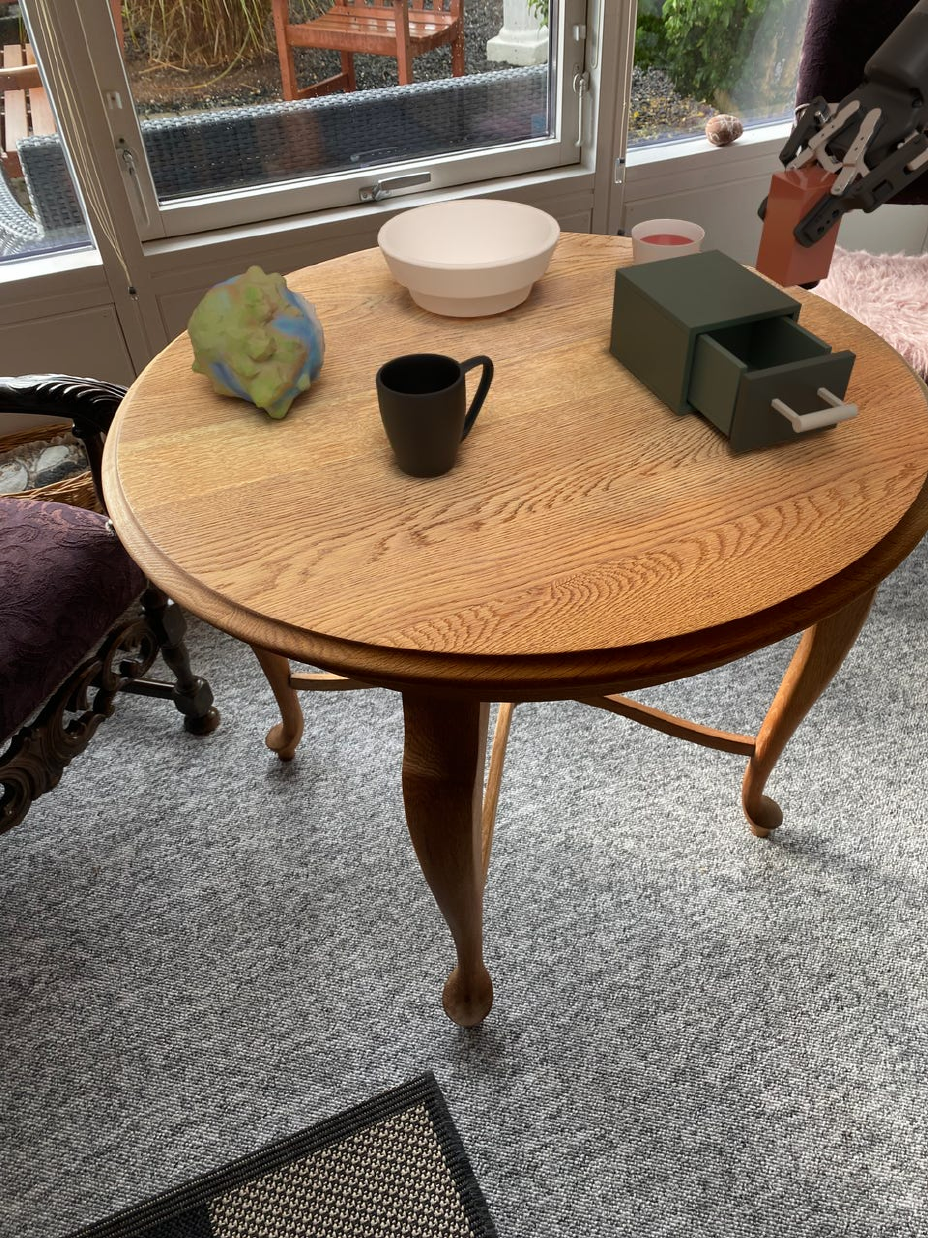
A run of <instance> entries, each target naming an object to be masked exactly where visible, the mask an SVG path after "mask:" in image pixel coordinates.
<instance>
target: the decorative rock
mask: <svg viewBox="0 0 928 1238" xmlns="http://www.w3.org/2000/svg"><path fill="white" fill-rule="evenodd" d="M186 329H187V334H188V336H189V339H190V344H191V346H192V350H193V351H192V353H193V357H194V360H193V362H192V364H191V370H192V372H193V374H199V375H204V376H206V377H207V378H208V379H209V380H210V383H211V389H212V390H213V391H214V393H215V394H219V395H223V396H226V397H230V398H232V397H233V398H241V399H242V400H243V399H244V400H245V401H247V402H251V403H253V404H255V406H256V407H257V408H263V409H264V410H265V411H266V412H267V413H268V415H269V416H270V417H271V418H272V419H283V418H284V417H285V416H286V415H287V412H288V410H289V409H290V407H291V405H292V403H293V400H294V399H296V398H297V397H298V396H300V395H301V394H302V393H303V392H304V391H305V390H306V391H308V390H310V388H311V384H312V383H314V382H318V381H319V380H320V379H321V371H322V368H323V366H324V363H325V359H324V358H325V354H326V347H327V346H326V342H325V333H324V327H323V324H322V322H321V320H320V319H319V317H318V315H317V311H316V304H314V303H312V302H310V301H309V299H306V297H305V295H303V294H302V293H300V292H296V291H292V290H291V289H289V287H288V283H287V279H286V277H284V276H282V275H281V274H280V273H279V272H272V273H269V274H266V273H265V272H264V271H263V269H262V267H260V266H259V265H254V264H253V265H252V266H250V267H249V268H248V269H247V270H246V272H244V273H242V274H238V275H236V276H233V277H230V278H228V279H227V280H225V281H222V282H219V283H216V284H215V285H213V286H212V287H211V288H210V289H209V290H208V291H207V292H205V295H204V297H202V300H201V301H200V302H199V304H198V305H197V307H196V308H194V310H193V312H192V314H191V317H190V318H189V320H188V323H187V328H186Z"/></svg>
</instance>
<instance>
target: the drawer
mask: <svg viewBox="0 0 928 1238" xmlns="http://www.w3.org/2000/svg"><path fill="white" fill-rule="evenodd" d="M832 350H833V346H832V345H831V344H829V343H828V342H826V341H824V340H823V339H821V338H820V337H818V336H817V335H816V334H814V333H813V332H811V331H810V330H808V329H807V328H806V327H804V326H802V325H801V324H800V323H799V322H798V323H796V322H795V321H793V320H792V319H790V318H789V317H788V316H786V315H781V316H777V317H772V318H768V319H763V320H758V321H754V322H749V323H745V324H740V325H735V326H731V327H726V328H722V329H717V330H712V331H708V332H703V333H699V334H696V339H695V346H694V352H693V359H692V366H691V373H690V380H689V386H688V393H687V400H688V401H689V402H690V403H691V404H692V405H694V406H695V407H696V408H697V409H698V410H699V411H698V412H700V413H701V415H703V416H704V417H705V418H707V420H709V422H711V423H712V424H713V425H715V427H717V429H719V430H720V431H721V432H722V433H723V434H724V435H725V436H726V437H730V439H729V443H728V449H729V450H730V451H731V452H732V453H733V454H734V455H735V454H740V453H744V452H748V451H752V450H756V449H760V448H764V447H768V446H771V445H775V444H779V443H783V442H787V441H791V440H796V439H799V438H803V437H806V436H807V437H808V436H810V435H815V434H819V433H823V432H826V431H831V430H834V429H837V425H838V424H839V423H842V422H846V421H850V420H854V419H856V418H857V417H858V415H859V408H858V406H857V404H855V403H853V402H850V403H845V398H846V394H847V390H848V387H849V383H850V380H851V376H852V372H853V369H854V366H855V361H856V358H857V354H856V353H854V352H853V351H852V350H850V349H845V350H841V351H836V352H832Z"/></svg>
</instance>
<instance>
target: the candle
mask: <svg viewBox="0 0 928 1238" xmlns="http://www.w3.org/2000/svg"><path fill="white" fill-rule="evenodd" d="M630 232H631V233H630V234H631V243H632V245H631V246H632V259H633V266H634V265H639V264H644V263H649V262H655V261H660V260H665V259H670V258H675V257H680V256H685V255H691V254H696V253H700V250H701V247H702V245H703V241H704V239H705V235H706V233H705V230H704V229H703V228H702V227H701V226H700V225H699V224H696V223H694V222H691V221H688V220H684V219H683V220H682V219H676V218H657V219H651V220H646V221H642V222H640V223H638V224H636V225H635V226H633V227H632V229H631V231H630Z"/></svg>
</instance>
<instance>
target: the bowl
mask: <svg viewBox="0 0 928 1238" xmlns="http://www.w3.org/2000/svg"><path fill="white" fill-rule="evenodd" d="M560 237H561V228H560V225H559V223H558V221H557V220H556V219H555V218H554V217H553V216H552V215H551V214H549V213H547V212H546V211H544V210H542V209H540V208H536V207H534V206H532V205H528V204H525V203H519V202H514V201H508V200H501V199H484V198H483V199H482V198H481V199H475V198H473V199H457V200H455V199H454V200H447V201H440V202H433V203H430V204H425V205H421V206H418V207H415V208H411V209H408V210H406V211H403V212H401V213H399V214H397V215H395V216H393V217H391V219H390V218H389V220H387V221H386V222H385V223H384V224H383V225H382V226H381V227H380V229H379V231H378V234H377V244H378V246H379V249H380V251H381V253H382V255H383V258H384V260H385V262H386V264H387V266H388V268H389V271H390V273H391V275H392V277H393V278H394V280H395V281H396V282H398V283H399V284H400V285H401V286H403V287H405V288H407V290H408V292H409V294H410V297H411V298H412V300H413V302H414V303H415V304H416V305H417V306H418V307H420V308H421V309H423V310H425V311H427V312H431V313H434V314H437V315H440V316H441V315H442V316H446V317H457V318H475V317H485V316H490V315H496V314H500V313H504V312H506V311H509V310H511V309H514V308H515V307H517V306H519V305H521V304H522V303H523V302H524V301H526V300H527V298H528V297H529V295H530V293H531V290H532V288H533V285H534V283H535V282H538V280H540V279H541V278H542V277H543V276H544V275H546V272H547V270H548V269H549V266H550V264H551V261H552V258H553V256H554V252H555V250H556V247H557V245H558V243H559V239H560Z"/></svg>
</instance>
